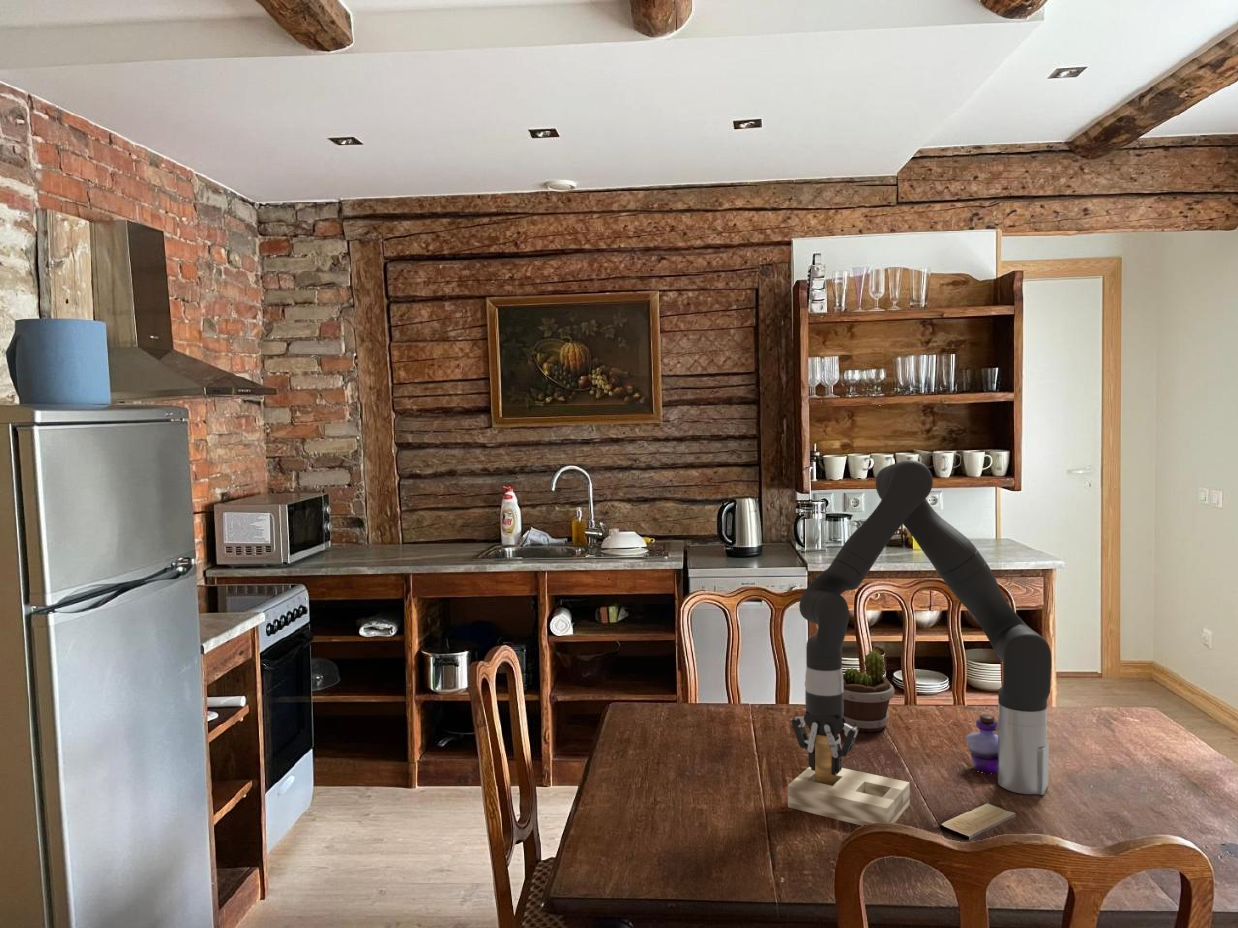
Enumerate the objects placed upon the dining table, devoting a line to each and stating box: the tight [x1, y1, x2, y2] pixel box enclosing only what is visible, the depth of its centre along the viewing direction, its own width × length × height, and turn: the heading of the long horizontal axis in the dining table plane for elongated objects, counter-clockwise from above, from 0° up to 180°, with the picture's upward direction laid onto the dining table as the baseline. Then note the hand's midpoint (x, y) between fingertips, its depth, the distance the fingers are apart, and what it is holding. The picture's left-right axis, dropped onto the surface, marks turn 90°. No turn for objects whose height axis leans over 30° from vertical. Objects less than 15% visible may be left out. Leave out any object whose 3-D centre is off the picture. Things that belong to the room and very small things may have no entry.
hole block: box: [787, 766, 911, 827], centre depth 180 cm, size 20×14×4 cm
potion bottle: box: [965, 713, 998, 776], centre depth 196 cm, size 9×9×12 cm
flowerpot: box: [843, 644, 896, 733], centre depth 224 cm, size 14×15×20 cm
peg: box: [815, 734, 835, 786], centre depth 182 cm, size 4×4×12 cm
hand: (824, 771), depth 182 cm, fingers closed on peg, 3 cm apart
